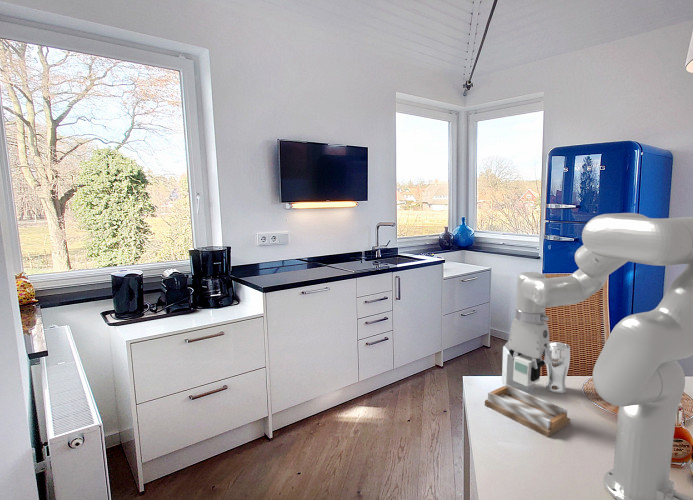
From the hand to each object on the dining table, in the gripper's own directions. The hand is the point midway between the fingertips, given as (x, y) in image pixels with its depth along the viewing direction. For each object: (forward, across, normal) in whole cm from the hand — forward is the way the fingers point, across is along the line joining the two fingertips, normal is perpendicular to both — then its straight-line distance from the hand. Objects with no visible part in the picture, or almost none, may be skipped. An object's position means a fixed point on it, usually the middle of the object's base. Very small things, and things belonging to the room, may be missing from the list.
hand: (526, 375), depth 116 cm
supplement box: (+12, +12, -13) cm, 21 cm away
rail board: (+12, 0, 0) cm, 12 cm away
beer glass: (+12, +3, -22) cm, 25 cm away
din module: (+1, 0, 0) cm, 1 cm away
